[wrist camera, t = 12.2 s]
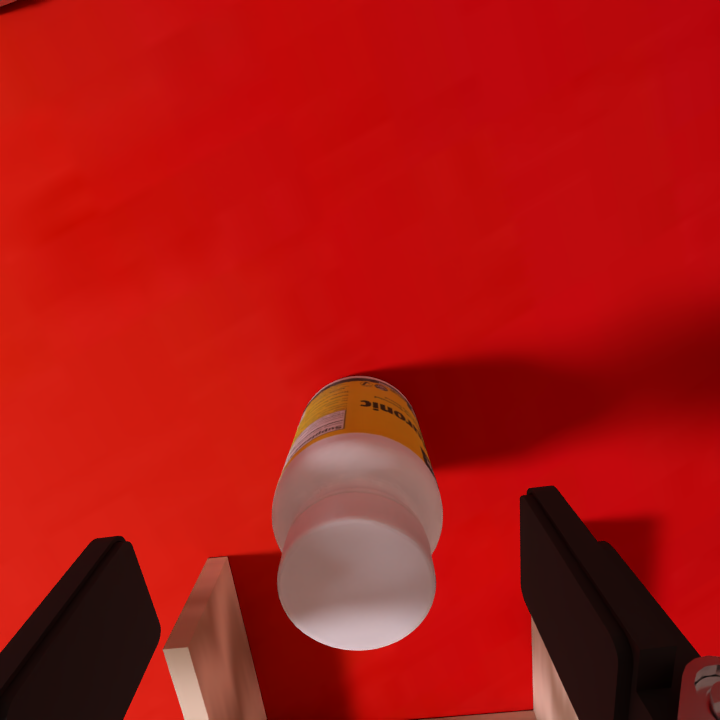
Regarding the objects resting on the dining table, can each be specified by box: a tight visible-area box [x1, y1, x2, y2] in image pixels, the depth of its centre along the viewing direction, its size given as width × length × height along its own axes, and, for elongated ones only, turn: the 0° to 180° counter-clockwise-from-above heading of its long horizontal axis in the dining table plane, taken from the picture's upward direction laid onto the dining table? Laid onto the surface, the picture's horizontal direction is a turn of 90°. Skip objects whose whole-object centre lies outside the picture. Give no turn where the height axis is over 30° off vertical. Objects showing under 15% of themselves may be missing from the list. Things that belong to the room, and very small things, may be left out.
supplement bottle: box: [272, 376, 443, 650], centre depth 15 cm, size 5×5×10 cm
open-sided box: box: [163, 557, 579, 720], centre depth 21 cm, size 13×17×5 cm
